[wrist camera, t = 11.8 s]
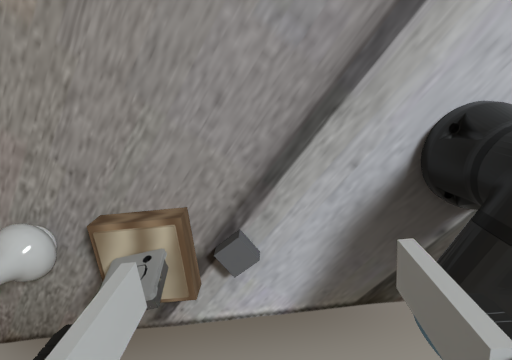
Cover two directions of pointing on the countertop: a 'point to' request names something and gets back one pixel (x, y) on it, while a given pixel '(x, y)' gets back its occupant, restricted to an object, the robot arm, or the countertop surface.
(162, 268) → the electrical switch
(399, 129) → the countertop surface
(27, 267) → the flower vase
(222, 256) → the rubber block
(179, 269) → the wooden box
